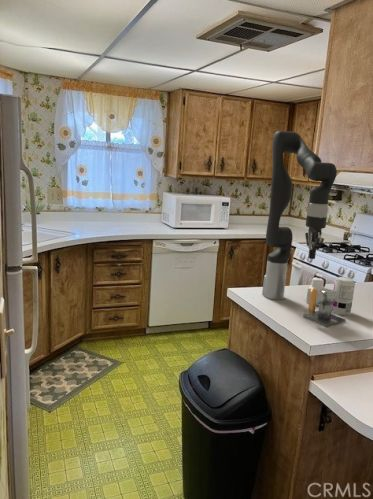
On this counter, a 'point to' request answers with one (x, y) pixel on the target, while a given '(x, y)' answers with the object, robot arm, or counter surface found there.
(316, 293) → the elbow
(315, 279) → the medicine bottle
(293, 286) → the counter surface
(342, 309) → the supplement can
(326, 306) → the grey stand with base
